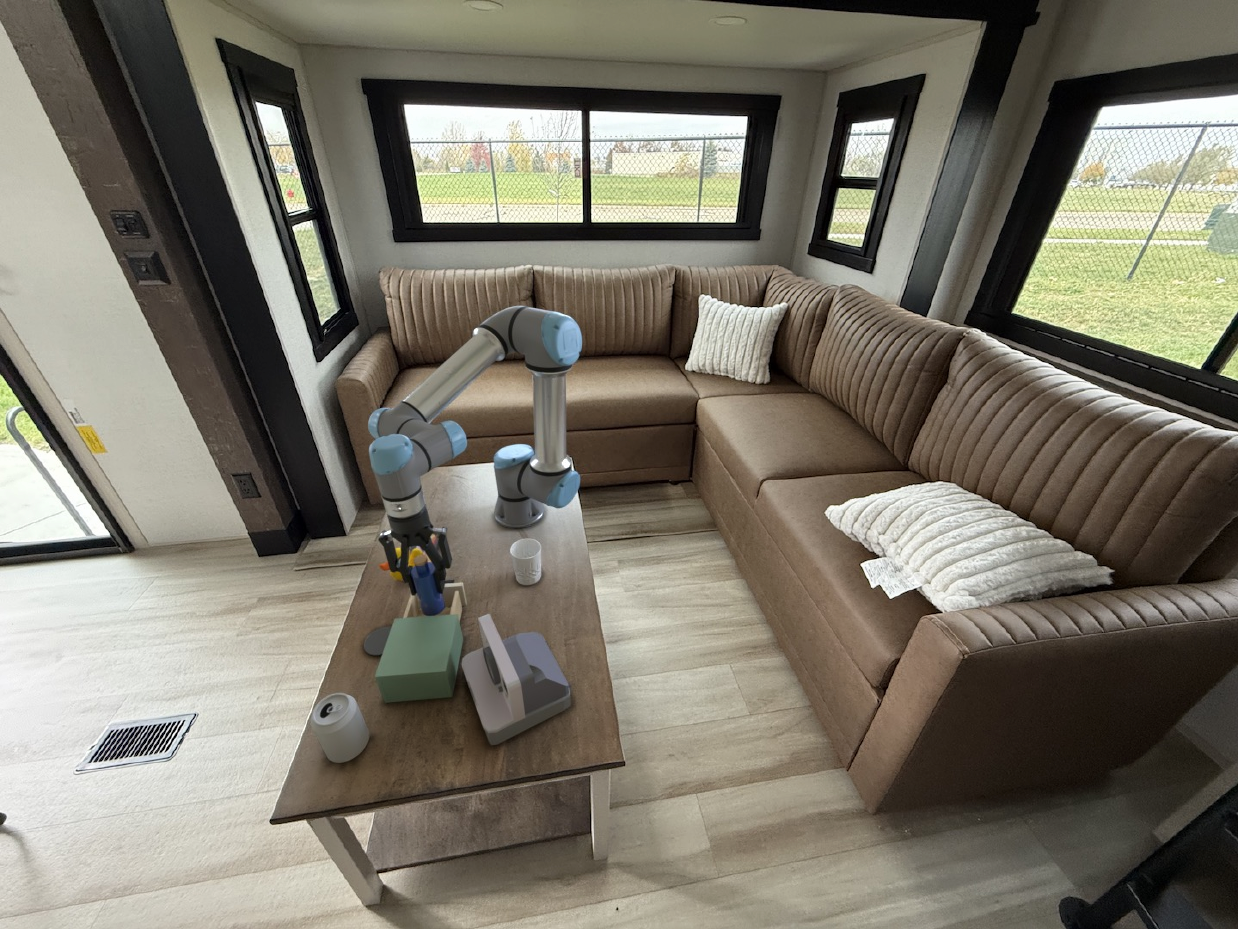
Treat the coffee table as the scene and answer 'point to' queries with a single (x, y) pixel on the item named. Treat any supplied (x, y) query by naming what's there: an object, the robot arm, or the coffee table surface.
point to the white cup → (526, 561)
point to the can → (339, 727)
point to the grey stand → (514, 682)
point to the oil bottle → (426, 586)
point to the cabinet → (420, 658)
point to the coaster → (377, 641)
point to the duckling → (396, 574)
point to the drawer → (452, 598)
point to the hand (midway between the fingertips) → (428, 590)
